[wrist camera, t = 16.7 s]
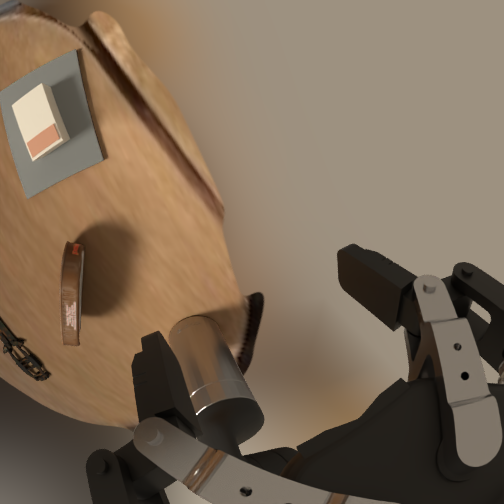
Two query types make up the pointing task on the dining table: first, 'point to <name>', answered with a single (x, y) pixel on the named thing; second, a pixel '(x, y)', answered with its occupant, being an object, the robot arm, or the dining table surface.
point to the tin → (71, 293)
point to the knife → (28, 358)
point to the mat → (74, 118)
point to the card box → (40, 122)
